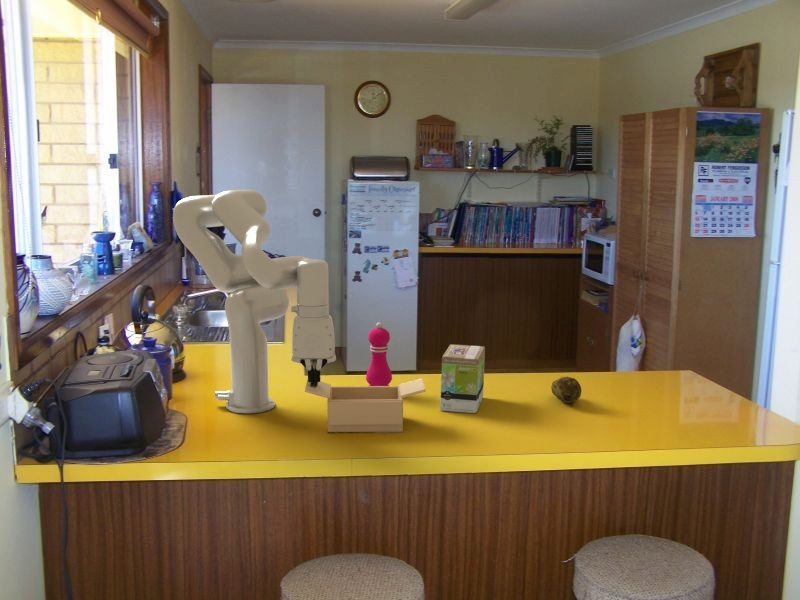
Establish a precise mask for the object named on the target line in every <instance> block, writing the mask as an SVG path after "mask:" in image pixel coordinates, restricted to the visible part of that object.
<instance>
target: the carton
mask: <svg viewBox="0 0 800 600" xmlns="http://www.w3.org/2000/svg"><path fill="white" fill-rule="evenodd" d="M326 403H327V407H326V409H327V433H328V432H375V433H403V432H404V398H401V393H400V387H399V385H389V386H369V385H365V386H362V385H360V386H359V385H357V386H356V385H355V386H353V385H352V386H351V385H350V386H348V385H347V386H346V385H345V386H331V389H330V397H329V399H328V398H327V402H326Z"/></svg>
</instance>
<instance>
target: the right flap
mask: <svg viewBox="0 0 800 600" xmlns="http://www.w3.org/2000/svg"><path fill="white" fill-rule="evenodd" d="M398 386H399V387H400V393H401V398H403V399H405V398H406V397H407V398H408V397H410V396H411V397H412V396H414V395H419V394H422V393H426V388H425V383H424V379H423V377H420V378H418V379H414V380H410V381H406V382H402V383H399V384H398Z"/></svg>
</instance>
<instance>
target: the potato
mask: <svg viewBox="0 0 800 600" xmlns="http://www.w3.org/2000/svg"><path fill="white" fill-rule="evenodd" d="M551 393H552V394H553V395H554V396H555V397H556V398H557V399H558V400H560V401H561V402H564V403H565V404H566V403H567V404H573V403H575V402H576V401H578V400H579V399H580V398H581V395H582V386H581V384H580V382H579V381H578V380H577V379H576V378H574V377H570V376H561V377H559V378H557V379H555V380H553V381H552V383H551Z"/></svg>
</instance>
